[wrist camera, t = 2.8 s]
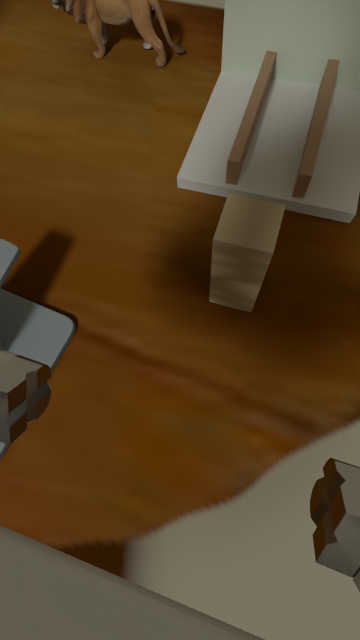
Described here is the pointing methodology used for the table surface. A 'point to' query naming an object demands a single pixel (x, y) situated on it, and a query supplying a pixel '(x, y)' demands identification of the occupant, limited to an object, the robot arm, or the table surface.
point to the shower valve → (29, 323)
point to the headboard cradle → (284, 109)
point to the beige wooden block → (243, 250)
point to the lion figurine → (120, 21)
